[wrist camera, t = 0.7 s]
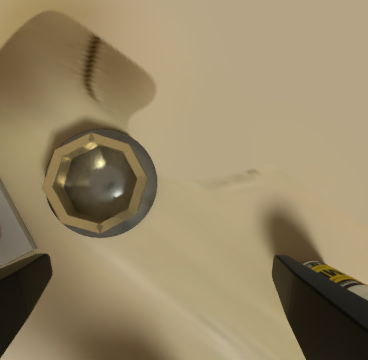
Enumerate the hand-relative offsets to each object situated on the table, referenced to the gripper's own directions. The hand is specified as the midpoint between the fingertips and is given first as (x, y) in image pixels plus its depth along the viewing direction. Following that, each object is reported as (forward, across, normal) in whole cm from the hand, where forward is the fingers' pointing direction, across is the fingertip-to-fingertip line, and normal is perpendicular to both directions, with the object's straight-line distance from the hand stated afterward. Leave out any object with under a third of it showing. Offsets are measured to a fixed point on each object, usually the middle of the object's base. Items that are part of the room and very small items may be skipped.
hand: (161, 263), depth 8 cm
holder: (+14, +8, 0) cm, 15 cm away
